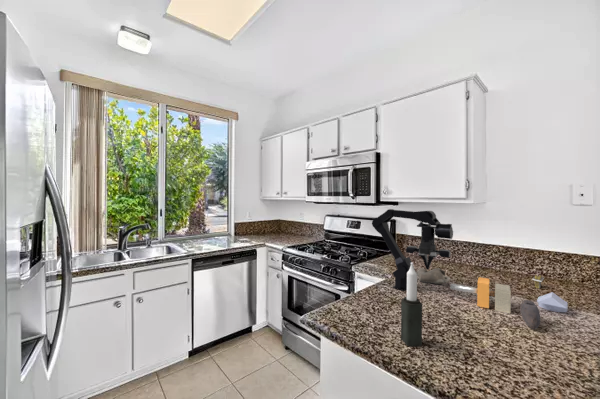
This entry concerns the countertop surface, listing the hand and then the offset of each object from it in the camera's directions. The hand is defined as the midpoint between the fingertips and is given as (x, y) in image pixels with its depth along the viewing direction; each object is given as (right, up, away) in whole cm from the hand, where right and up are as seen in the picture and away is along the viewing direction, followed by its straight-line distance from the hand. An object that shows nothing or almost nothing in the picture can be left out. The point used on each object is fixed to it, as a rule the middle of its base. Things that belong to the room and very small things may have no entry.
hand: (427, 269), depth 127 cm
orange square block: (+18, -12, -12) cm, 25 cm away
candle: (-26, -12, -44) cm, 52 cm away
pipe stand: (+17, -12, -11) cm, 24 cm away
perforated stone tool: (+23, -13, -30) cm, 40 cm away
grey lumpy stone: (+12, -13, +20) cm, 26 cm away
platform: (+66, -14, +14) cm, 69 cm away
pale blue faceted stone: (+45, -13, -16) cm, 49 cm away
